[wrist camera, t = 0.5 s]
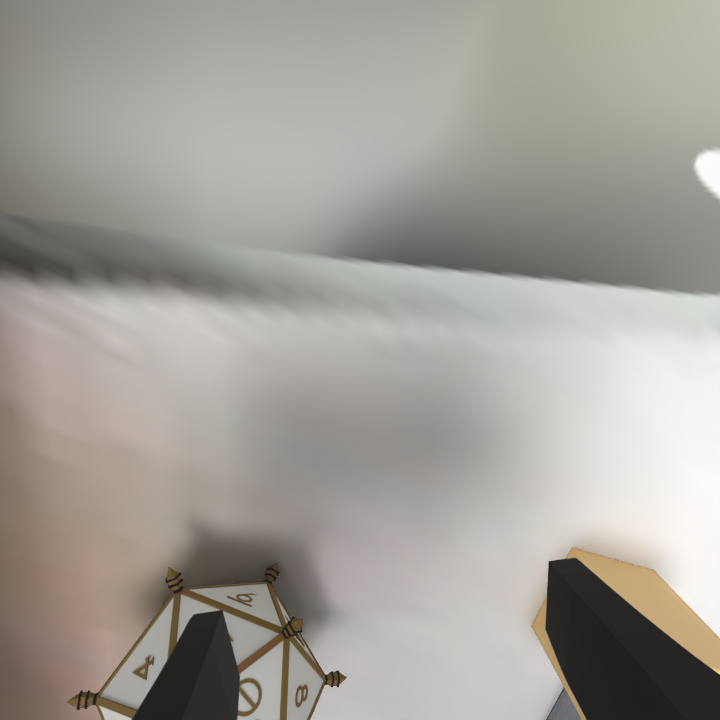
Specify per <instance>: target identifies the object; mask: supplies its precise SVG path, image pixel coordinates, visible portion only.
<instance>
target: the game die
mask: <svg viewBox="0 0 720 720" xmlns="http://www.w3.org/2000/svg"><path fill="white" fill-rule="evenodd" d="M267 570H268V571H267V573H265V580H264V582H250V583H237V584H223V585H209V586H196V587H183V586H182V581H183V579H181V577H180V575H181V573H178V572H176V571H174V570H173V569H171V568H168V575H167V578H166V583H168V588H169V589H170V588H171V589H172V590H173V593H172V594H171V596H170V597H169V598H168V600H167V601H166V602H165V603H164V604H163V606H162V608H161V609H160V610H159V612H158V613H157V615H156V616H155V617H154V619H153V620H152V621H151V623H150V624H149V625H148V627H147V628H146V629H145V631H144V632H143V633H142V635H141V636H140V637H139V639H138V640H137V641H136V643H135V644H134V645H133V647H132V648H131V649H130V651H129V652H128V653H127V655H126V656H125V657H124V659H123V660H122V661H121V663H120V664H119V665H118V667H117V668H116V669H115V671H114V672H113V673H112V675H111V676H110V678H109V679H108V680H107V682H106V683H105V684H104V686H103V687H102V688H101V690H100V691H99V692H98V693H96V694H94V693H91V692H90V691H88V692H82V691H81V692H80V693H79V694H78V695H76V696H75V697H73V698H72V699H70V700H69V701H67V703H69V704H71V705H72V706H74V707H76V708H77V710H80V708H85V709H87V707H89V706H92V705H96V706H97V709H98V711H99V714H100V716H101V718H102V720H132V718H133V716H134V715H135V713H136V711H137V710H138V708H139V707H140V705H141V703H142V702H143V700H144V698H145V697H146V695H147V693H148V692H149V690H150V689H151V687H152V685H153V684H154V682H155V680H156V679H157V677H158V675H159V673H160V672H161V670H162V668H163V666H164V665H165V663H166V661H167V660H168V658H169V656H170V654H171V652H172V651H173V649H174V647H175V645H176V643H177V642H178V640H179V638H180V636H181V634H182V633H183V631H184V629H185V627H186V625H187V623H188V621H189V620H190V618H191V617H192V616H193V615H194V614H199V613H205V612H212V611H219V610H223V614H224V618H225V621H226V625H227V629H228V633H229V636H230V640H231V644H232V648H233V652H234V655H235V659H236V663H237V667H238V671H239V674H240V686H239V703H238V717H237V720H310V719H311V717H312V714H313V712H314V709H315V707H316V705H317V702H318V700H319V697H320V695H321V693H322V690H323V688H324V685H330V686H331V687H333V686H337V687H339V684H341V683H342V682H343V681H344V680H345V679H346V678H347V677H345V676H344V675H342V674H341V673H339V671H336V672H334V673H333V671H332V672H330V673H329V674H328V675H325V674H324V672H323V671H322V669H321V667H320V665H319V664H318V662H317V660H316V659H315V657H314V655H313V654H312V652H311V650H310V649H309V647H308V645H307V644H306V642H305V640H304V638H303V637H302V635H301V632H302V623H303V619H297V618H295V617H292V618H291V617H290V615H289V613H288V611H287V610H286V608H285V606H284V605H283V603H282V601H281V600H280V598H279V596H278V595H277V593H276V591H275V590H274V588H273V586H272V582H273V581H275V580H276V576H278V574H279V572H278V564H275V565H273V566H272V567H270V568H267Z"/></svg>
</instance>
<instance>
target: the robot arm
mask: <svg viewBox="0 0 720 720" xmlns="http://www.w3.org/2000/svg"><path fill="white" fill-rule="evenodd" d="M545 630H546V632H547V635H548V637H549V640H550V642H551V645H552V648H553V650H554V653H555V655H556V658H557V660H558V663H559V665H560V667H561V670H562V672H563V675H564V677H565V679H566V681H567V683H568V685H569V687H570V689H571V691H572V693H573V695H574V697H575V699H576V701H577V702H578V704H579V706H580V708H581V710H582V712H583V714H584V716H585V718H586V720H720V674H718V673H717V672H716V671H714V670H713V669H712V668H710V667H709V666H707V665H706V664H705V663H703V662H702V661H701V660H699V659H698V658H697V657H695V656H694V655H693V654H691V653H690V652H689V651H688V650H686V649H685V648H684V647H682V646H681V645H680V644H679V643H677V642H676V641H675V640H674V639H672V638H671V637H670V636H669V635H667V634H666V633H665V632H664V631H662V630H661V629H660V628H659V627H657V626H656V625H655V624H654V623H652V622H651V621H650V620H649V619H647V618H646V617H645V616H644V615H643V614H641V613H640V612H639V611H638V610H637V609H635V608H634V607H633V606H632V605H631V604H629V603H628V602H627V601H626V600H625V599H624V598H622V597H621V596H620V595H619V594H618V593H617V592H615V591H614V590H613V589H612V588H611V587H610V586H608V585H607V584H606V583H605V582H604V581H603V580H601V579H600V578H599V577H598V576H597V575H596V574H594V573H593V572H592V571H591V570H590V569H589V568H588V567H586V566H585V565H584V564H583V563H582V562H580V561H579V560H578V559H577V558H569V559H562V560H555V561H549V569H548V587H547V606H546V624H545ZM239 686H240V674H239V671H238V667H237V663H236V659H235V655H234V652H233V648H232V644H231V640H230V636H229V633H228V629H227V625H226V621H225V618H224V614H223V610H219V611H212V612H205V613H199V614H194V615H193V616H192V617H191V618H190V620H189V621H188V623H187V625H186V627H185V629H184V631H183V633H182V634H181V636H180V638H179V640H178V642H177V643H176V645H175V647H174V649H173V651H172V652H171V654H170V656H169V658H168V660H167V661H166V663H165V665H164V666H163V668H162V670H161V672H160V673H159V675H158V677H157V679H156V680H155V682H154V684H153V685H152V687H151V689H150V690H149V692H148V693H147V695H146V697H145V698H144V700H143V702H142V703H141V705H140V707H139V708H138V710H137V711H136V713H135V715H134V716H133V718H132V720H237V717H238V703H239Z"/></svg>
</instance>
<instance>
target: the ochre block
mask: <svg viewBox="0 0 720 720" xmlns="http://www.w3.org/2000/svg"><path fill="white" fill-rule="evenodd" d="M569 558H577V559H578V560H579V561H580V562H582V563H583V564H584V565H585V566H586V567H588V568H589V569H590V570H591V571H592V572H593V573H594V574H596V575H597V576H598V577H599V578H600V579H601V580H603V581H604V582H605V583H606V584H607V585H608V586H610V587H611V588H612V589H613V590H614V591H615V592H617V593H618V594H619V595H620V596H621V597H622V598H624V599H625V600H626V601H627V602H628V603H629V604H631V605H632V606H633V607H634V608H635V609H637V610H638V611H639V612H640V613H641V614H643V615H644V616H645V617H646V618H647V619H649V620H650V621H651V622H652V623H654V624H655V625H656V626H657V627H659V628H660V629H661V630H662V631H664V632H665V633H666V634H667V635H669V636H670V637H671V638H672V639H674V640H675V641H676V642H677V643H679V644H680V645H681V646H682V647H684V648H685V649H686V650H688V651H689V652H690V653H691V654H693V655H694V656H695V657H697V658H698V659H699V660H701V661H702V662H703V663H705V664H706V665H707V666H709V667H710V668H712V669H713V670H714V671H716V672H717V673H718V674H720V638H719V637H718V636H717V635H716V634H715V633H714V632H713V631H712V630H711V629H710V628H709V627H708V626H707V625H706V624H705V623H704V622H703V620H702V619H701V618H700V617H699V616H698V615H697V614H696V613H695V612H694V611H693V610H692V609H691V608H690V607H689V606H688V605H687V604H686V603H685V602H684V601H683V600H682V599H681V598H680V597H679V596H678V595H677V594H676V593H675V592H674V591H673V590H672V588H671V587H670V586H669V585H668V584H667V583H666V582H665V581H664V580H663V579H662V578H661V577H660V576H659V575H658V574H657V573H656V572H655V571H654V570H651V569H647V568H644V567H640V566H636V565H633V564H629V563H626V562H622V561H618V560H615V559H611V558H607V557H604V556H600V555H596V554H593V553H589V552H586V551H582V550H578V549H575V548H571V550H570V552H569V554H568V556H567V558H566V559H569ZM546 606H547V597H546V599H545V601H544V603H543V605H542V606H541V608H540V610H539V612H538V614H537V616H536V618H535V620H534V622H533V624H532V628H533V630H534V632H535V633H536V635H537V637H538V639H539V641H540V643H541V645H542V646H543V648H544V650H545V652H546V654H547V656H548V658H549V659H550V661H551V663H552V665H553V667H554V669H555V671H556V673H557V674H558V676H559V678H560V680H561V682H562V684H563V686H564V687H565V689H566V691H567V693H568V695H569V697H570V699H571V700H572V702H573V704H574V706H575V708H576V710H577V712H578V714H579V715H580V717H581V719H582V720H586V718H585V716H584V714H583V712H582V710H581V708H580V706H579V704H578V702H577V701H576V699H575V697H574V695H573V693H572V691H571V689H570V687H569V685H568V683H567V681H566V679H565V677H564V675H563V672H562V670H561V667H560V665H559V663H558V660H557V658H556V655H555V653H554V650H553V648H552V645H551V642H550V640H549V637H548V635H547V632H546V630H545V624H546Z"/></svg>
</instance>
